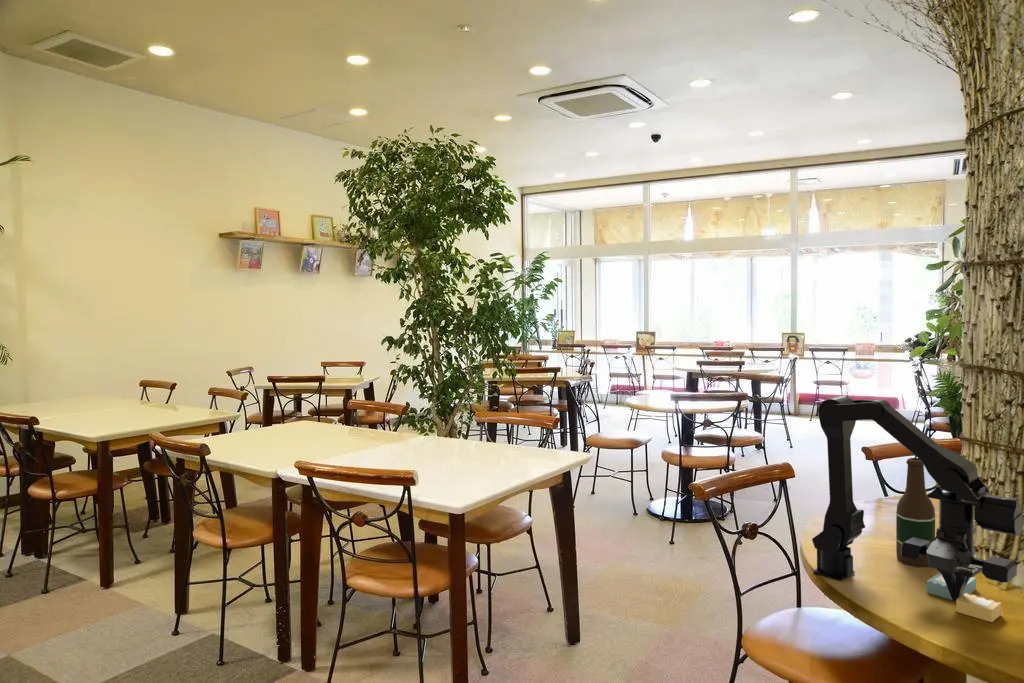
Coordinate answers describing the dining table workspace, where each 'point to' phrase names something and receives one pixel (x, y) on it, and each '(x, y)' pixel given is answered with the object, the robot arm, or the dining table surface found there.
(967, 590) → the pale blue pin-sided card
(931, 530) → the beer bottle
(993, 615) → the stub
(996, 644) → the dining table surface
